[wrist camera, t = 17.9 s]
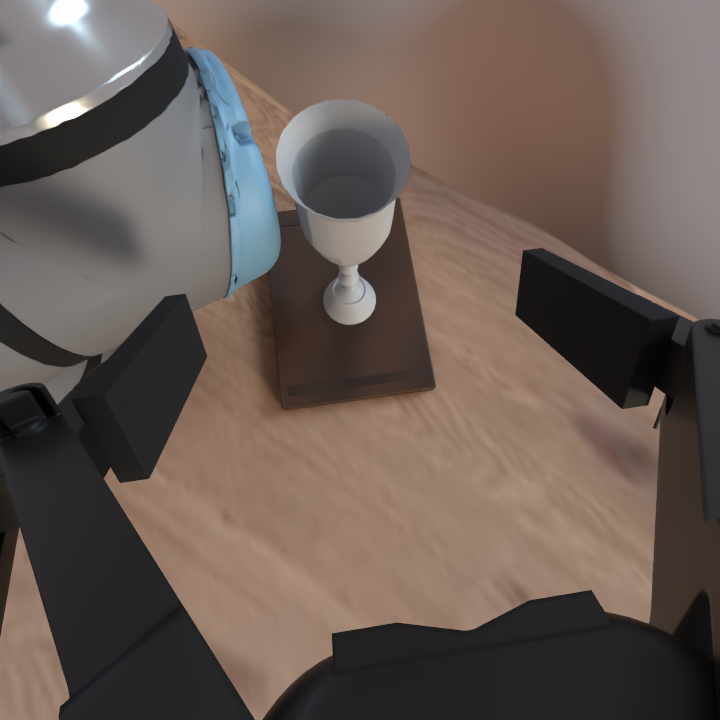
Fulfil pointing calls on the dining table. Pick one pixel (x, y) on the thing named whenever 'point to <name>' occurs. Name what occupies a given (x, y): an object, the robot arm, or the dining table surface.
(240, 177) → the robot arm
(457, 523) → the dining table surface
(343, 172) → the chalice
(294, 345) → the serving board
